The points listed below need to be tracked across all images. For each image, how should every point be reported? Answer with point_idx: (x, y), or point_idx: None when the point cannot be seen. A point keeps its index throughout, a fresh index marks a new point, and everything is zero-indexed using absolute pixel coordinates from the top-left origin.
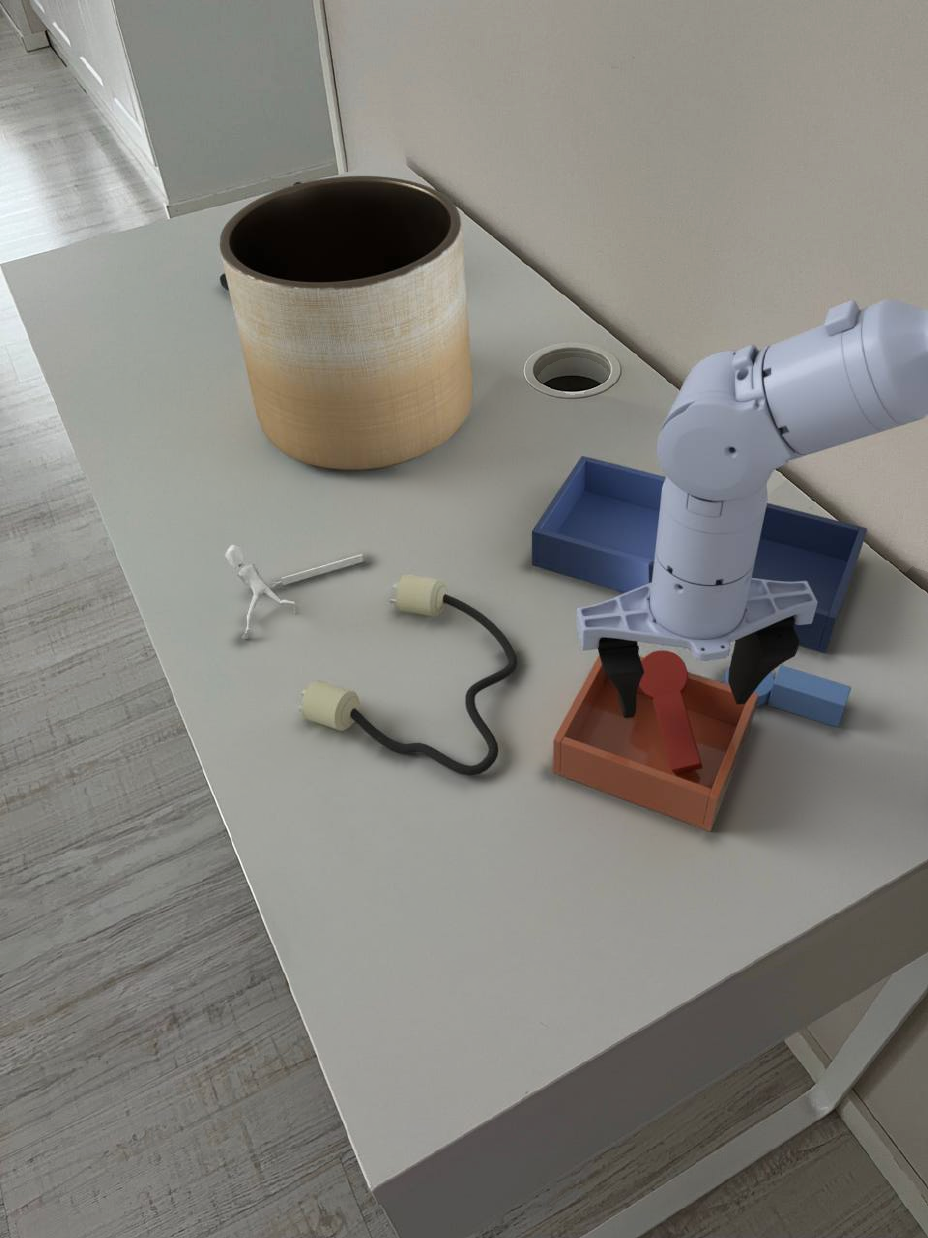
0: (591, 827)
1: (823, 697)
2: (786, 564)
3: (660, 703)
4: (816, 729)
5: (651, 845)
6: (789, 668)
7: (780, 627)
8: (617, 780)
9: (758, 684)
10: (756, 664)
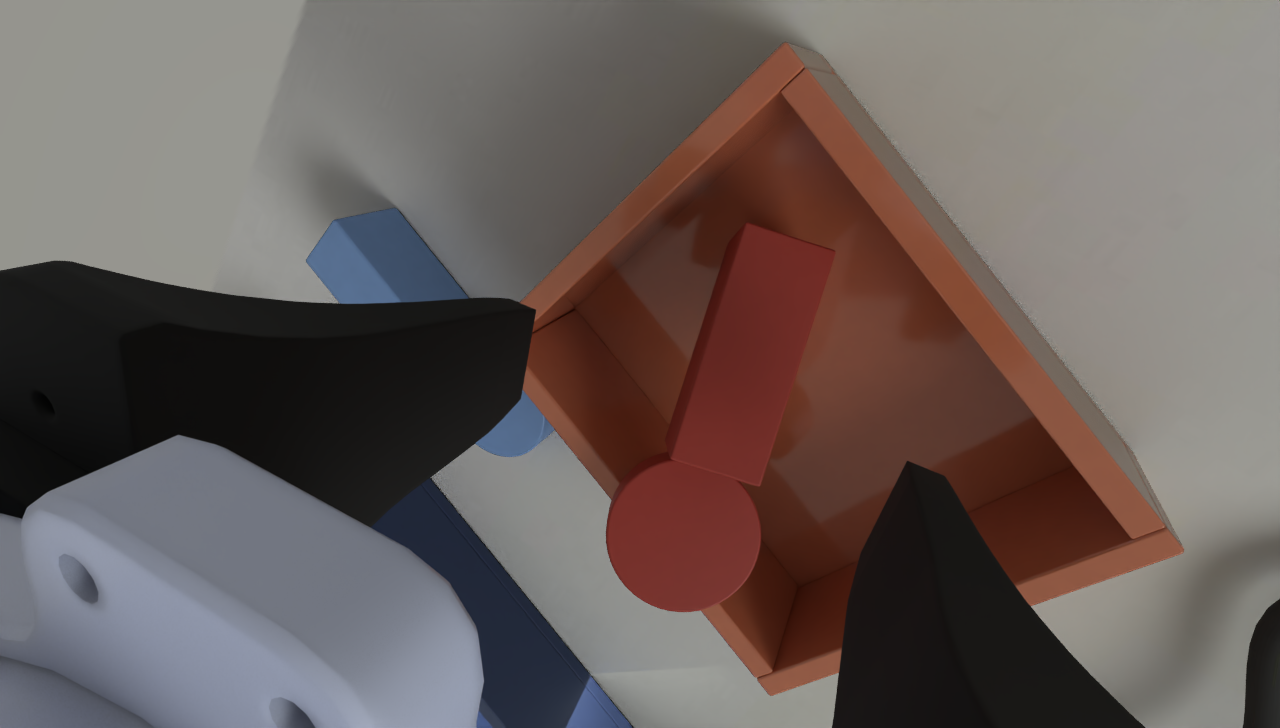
0: (1163, 227)
1: (365, 265)
2: None
3: (748, 459)
4: (435, 225)
5: (1021, 80)
6: None
7: (28, 446)
8: (1013, 312)
9: (405, 304)
10: (294, 345)
